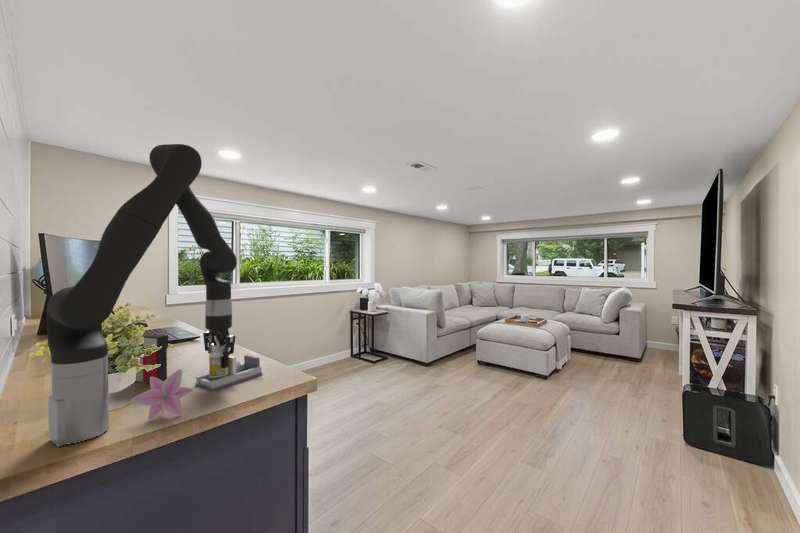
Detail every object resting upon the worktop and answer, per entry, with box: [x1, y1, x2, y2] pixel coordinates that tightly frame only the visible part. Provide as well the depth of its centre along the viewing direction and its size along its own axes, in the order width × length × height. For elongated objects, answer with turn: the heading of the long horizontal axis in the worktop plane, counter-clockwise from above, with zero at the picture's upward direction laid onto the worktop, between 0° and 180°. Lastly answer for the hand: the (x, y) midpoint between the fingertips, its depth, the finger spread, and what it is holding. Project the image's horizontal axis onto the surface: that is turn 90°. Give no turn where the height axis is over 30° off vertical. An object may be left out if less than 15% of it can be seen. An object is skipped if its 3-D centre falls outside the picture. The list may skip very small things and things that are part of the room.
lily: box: [130, 368, 195, 421], centre depth 88 cm, size 12×12×10 cm
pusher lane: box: [194, 354, 263, 392], centre depth 111 cm, size 17×10×6 cm, turn 149°
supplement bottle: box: [208, 345, 229, 378], centre depth 108 cm, size 5×5×10 cm
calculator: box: [136, 333, 169, 384], centre depth 110 cm, size 11×4×15 cm, turn 76°
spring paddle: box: [224, 355, 242, 377], centre depth 112 cm, size 4×6×7 cm, turn 59°
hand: (219, 365), depth 108 cm, fingers closed on supplement bottle, 5 cm apart
